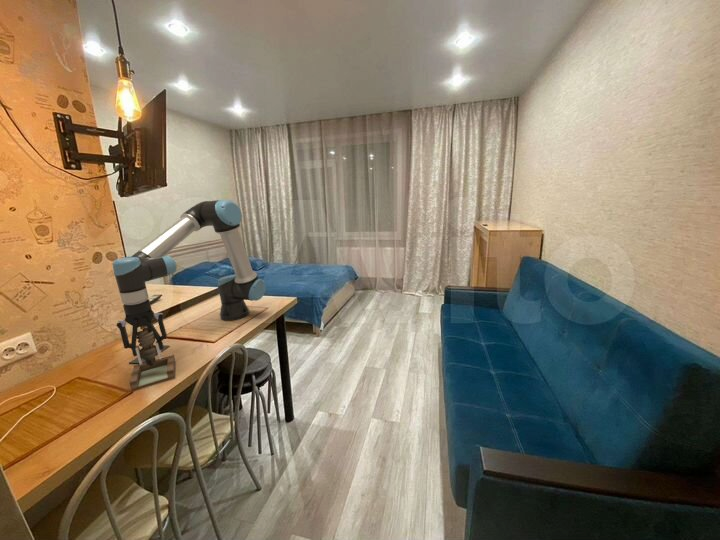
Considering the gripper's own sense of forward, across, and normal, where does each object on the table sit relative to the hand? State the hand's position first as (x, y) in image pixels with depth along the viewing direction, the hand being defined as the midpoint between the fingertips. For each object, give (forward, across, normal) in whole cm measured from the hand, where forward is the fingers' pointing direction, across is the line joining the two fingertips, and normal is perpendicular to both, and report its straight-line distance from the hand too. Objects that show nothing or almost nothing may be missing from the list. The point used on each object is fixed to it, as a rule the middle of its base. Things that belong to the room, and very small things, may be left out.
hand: (151, 360), depth 108 cm
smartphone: (+7, +3, -21) cm, 22 cm away
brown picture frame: (+7, 0, 0) cm, 7 cm away
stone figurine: (+2, 0, 0) cm, 2 cm away
